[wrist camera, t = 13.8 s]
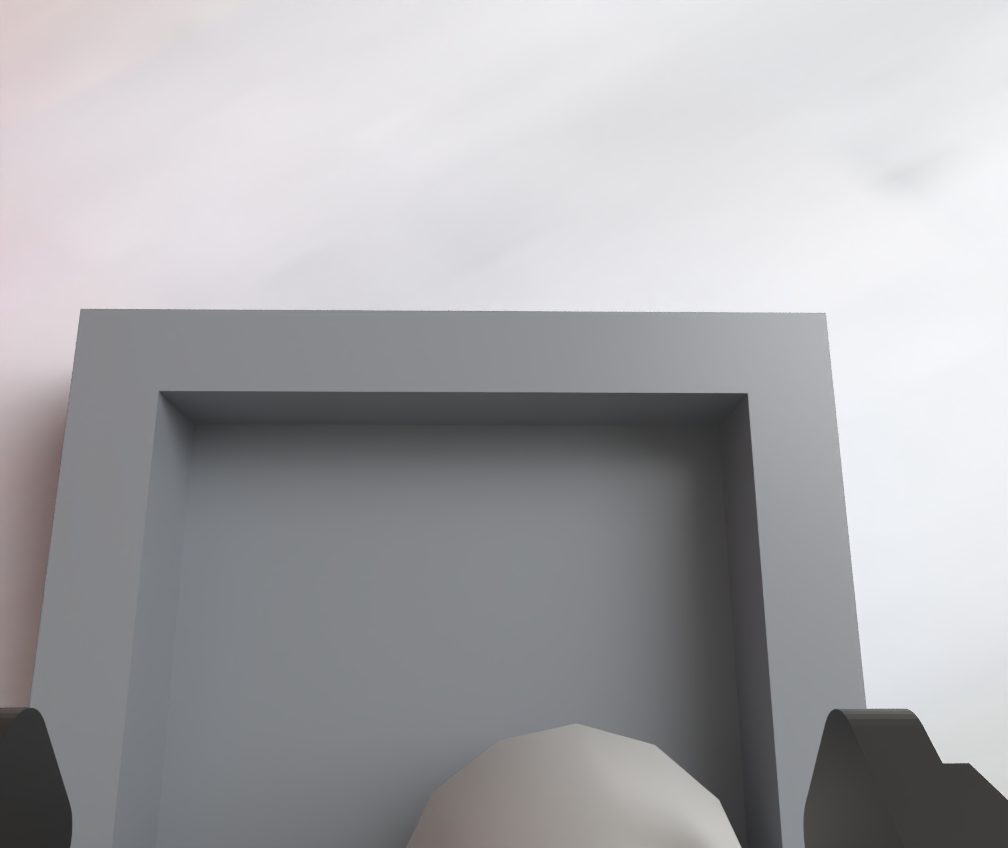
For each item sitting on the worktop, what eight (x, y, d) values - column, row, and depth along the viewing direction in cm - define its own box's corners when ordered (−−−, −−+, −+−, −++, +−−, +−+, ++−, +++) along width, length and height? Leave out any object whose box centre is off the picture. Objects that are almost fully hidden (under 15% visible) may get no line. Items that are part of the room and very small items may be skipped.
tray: (778, 365, 21) (825, 312, 18) (866, 1378, 16) (950, 1530, 13) (137, 363, 21) (80, 308, 18) (23, 1393, 16) (-80, 1550, 13)
